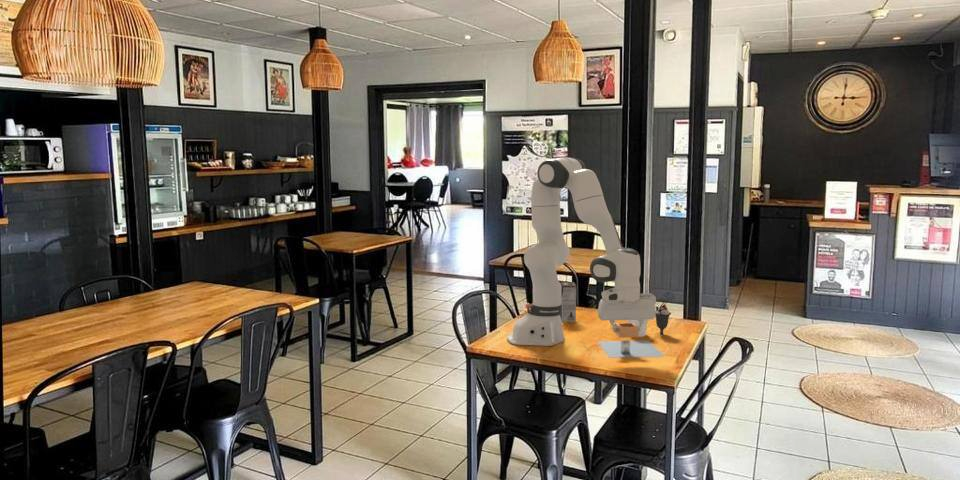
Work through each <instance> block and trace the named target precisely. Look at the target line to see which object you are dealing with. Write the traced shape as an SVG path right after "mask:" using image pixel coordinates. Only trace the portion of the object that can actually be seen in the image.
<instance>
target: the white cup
mask: <svg viewBox="0 0 960 480" xmlns="http://www.w3.org/2000/svg"><path fill="white" fill-rule="evenodd" d="M626 321H627V322H626V323H634V324H635V325H637V326H638V324H639V321H638V320H626ZM647 328H648V320H644V323H643V325H642V326H641V329H640V332H639V335H638V337H637V338H641V337H642V338H643V337H645V336H646V335H647V331H648V330H647Z"/></svg>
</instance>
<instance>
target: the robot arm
mask: <svg viewBox="0 0 960 480" xmlns="http://www.w3.org/2000/svg"><path fill="white" fill-rule="evenodd" d="M536 174H537V177H536V179H535V180H534V181H533V182H532V188H531V197H530V204H531V211H530V212H531V225H532V228H533V229H534V231H535V233H536V236H537V239H538V242H537V243H534V244H532V245H531V246H529V247H528V248H527V250H526V251H525V252H524V254H523V262H524V264H525V266H526V267H527V270H529V273H530V278H531V282H532V302H531V303H529V302H526V304H525V308H526V310H527V313H526V314H524V315H523V316H522V317H520V318H519V319H518V320H516V321H515V323H514V325H513V328H512V329H513V330H512V332H510V333H508V335H507V342H508V343H510V344H512V345H518V346H519V345H520V346H521V345H522V346H544V347H552V346H554V345H556V344H560V343H563V342H564V341H565V340H566V339H565V334H564V331H563V324H562V323H563V322H562V321H561V319H562V304H561V283H560V282H561V281H559V279H558V275H557V274H558V273H557V268H558V267H561V266H563V265H564V264H565V263H566V262H567V261H568V259H569V258H570V255H571V250H570V247H569V245H568V244H567V242H566V239H565V236H564V232H563V229H562V223H561V222H562V221H561V197H560V196H561V195H560V194H561V192H562V190H563V189H567V190H569V191H570V194H571V198H572V201H573V205H574V206H573V207H574V210H575V212H576V215H577V216H578V219H579V220H580V221H581V222H582V223H585V224H587V225H589V226H591V227H592V228H594V229H595V230H597V231H598V233H599V235H600V237H601V240H602V243H603V246H604V249H605V252H606V254H604V255H600V256H597V257H595V258H594V259H592V261H591V263H590V266H589V272H590V275H591V277H592V278H593V280H594V281H596V282H598V283H608V282H613V283H614V287H612V288H609V289H607V290H603V291H601V297H602V298H600V301H599V302H598V308H597V309H598V310H597V317H598V318H599V319H600V320H601V321H609V323H610V325H611V328H612V333H615V332H618V327H617V326H615V323H616V321H627V320H638V321H639V324H638V327H639V332H640V329H641V326H642V325H643V323H644V320H647V321H648V320H649V321H650V320H654V319H656V303H657V297H656V295H654V294H653V293H651V292H650V293H641V282H640V277H641V255H640V254H639V251H637V250H636V249H633V248H630V247H623V244H622V241H621V239H620V235H619V232H618V229H617V227H616V224H615V222H614V219H613V217H612V214H611V213H610V212H609V210H608V206H607V203H606V201H605V197H604V193H603V190H602V187H601V182H600V181H599V178H598V177H597V174H596V173H595V172H594V171H593V170H591V169H587V167H586V164H585V163H584V162H583V161H582V160H581V159H579V158H576V157H557V158H549V159H547V160H544V161H542V162H541V163H540V164H539V166H538V167H537V173H536Z"/></svg>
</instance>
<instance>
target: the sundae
mask: <svg viewBox="0 0 960 480" xmlns="http://www.w3.org/2000/svg"><path fill="white" fill-rule="evenodd" d="M668 303H669V301H666V302H665V303H664V304H662V305H660V306H657V305H655V311H656V317H655V321H656V327H657V328H658V329H659V330H660V331H659V335H660V336H661V335H664V330H665V329H666V328H668V325H669V324H668V323H669V318H670V316H671V314H672V312H670V310H668V307H667V306H666V305H667V304H668Z"/></svg>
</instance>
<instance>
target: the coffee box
mask: <svg viewBox="0 0 960 480" xmlns="http://www.w3.org/2000/svg"><path fill="white" fill-rule="evenodd" d="M559 282H560V283H561V304H562V319H561V321H562V323H563V322H564V323H565V322H566V323H576V322H577V321H576V320H577V319H576V318H577V285H576V282H575V281H559Z"/></svg>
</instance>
